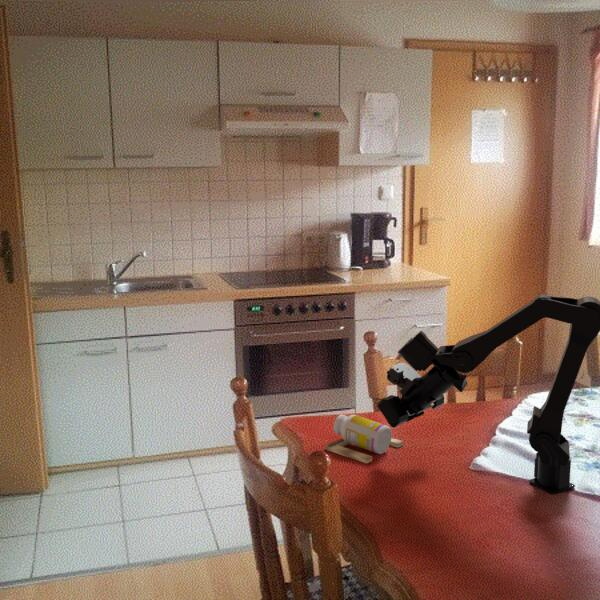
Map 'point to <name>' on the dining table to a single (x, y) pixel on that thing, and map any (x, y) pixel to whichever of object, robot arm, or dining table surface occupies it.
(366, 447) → the supplement bottle
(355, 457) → the frame
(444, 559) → the dining table surface
